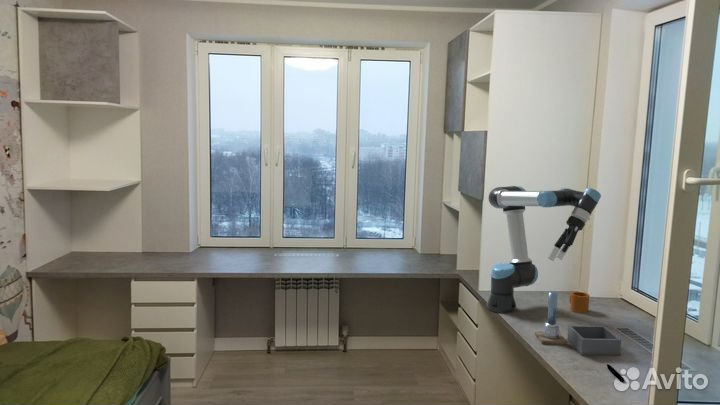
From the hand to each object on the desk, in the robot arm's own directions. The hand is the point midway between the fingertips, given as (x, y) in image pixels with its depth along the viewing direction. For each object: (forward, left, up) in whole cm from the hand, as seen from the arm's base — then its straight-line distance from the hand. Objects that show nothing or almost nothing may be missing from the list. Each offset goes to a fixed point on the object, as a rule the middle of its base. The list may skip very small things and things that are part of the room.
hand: (554, 259), depth 237 cm
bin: (+17, +12, -35) cm, 41 cm away
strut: (+8, -3, -33) cm, 34 cm away
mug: (-34, +25, -35) cm, 55 cm away
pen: (+42, +10, -36) cm, 56 cm away
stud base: (+8, -3, -35) cm, 36 cm away
